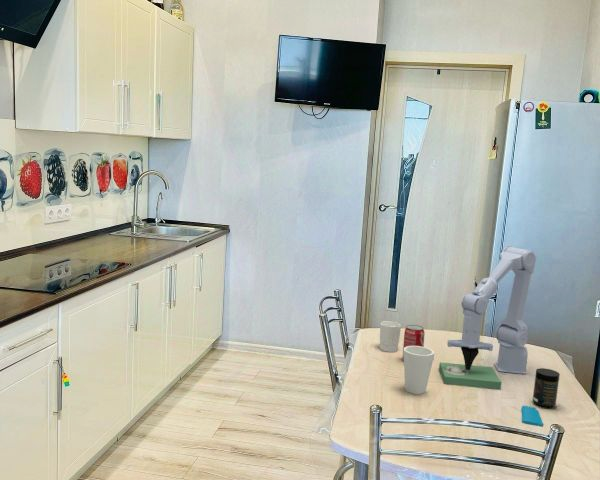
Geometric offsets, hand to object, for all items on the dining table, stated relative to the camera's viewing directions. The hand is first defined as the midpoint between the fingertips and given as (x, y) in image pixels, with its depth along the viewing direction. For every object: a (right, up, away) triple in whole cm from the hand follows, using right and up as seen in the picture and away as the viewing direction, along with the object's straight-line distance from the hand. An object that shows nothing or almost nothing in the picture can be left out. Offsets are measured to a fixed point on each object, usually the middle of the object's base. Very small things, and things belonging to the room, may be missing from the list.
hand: (467, 368), depth 198 cm
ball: (-4, -1, +1) cm, 4 cm away
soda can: (-16, -1, +14) cm, 21 cm away
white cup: (-23, +1, +27) cm, 35 cm away
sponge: (+11, -9, -27) cm, 30 cm away
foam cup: (-20, -4, -12) cm, 24 cm away
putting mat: (0, -4, 0) cm, 4 cm away
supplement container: (+18, -7, -17) cm, 26 cm away
